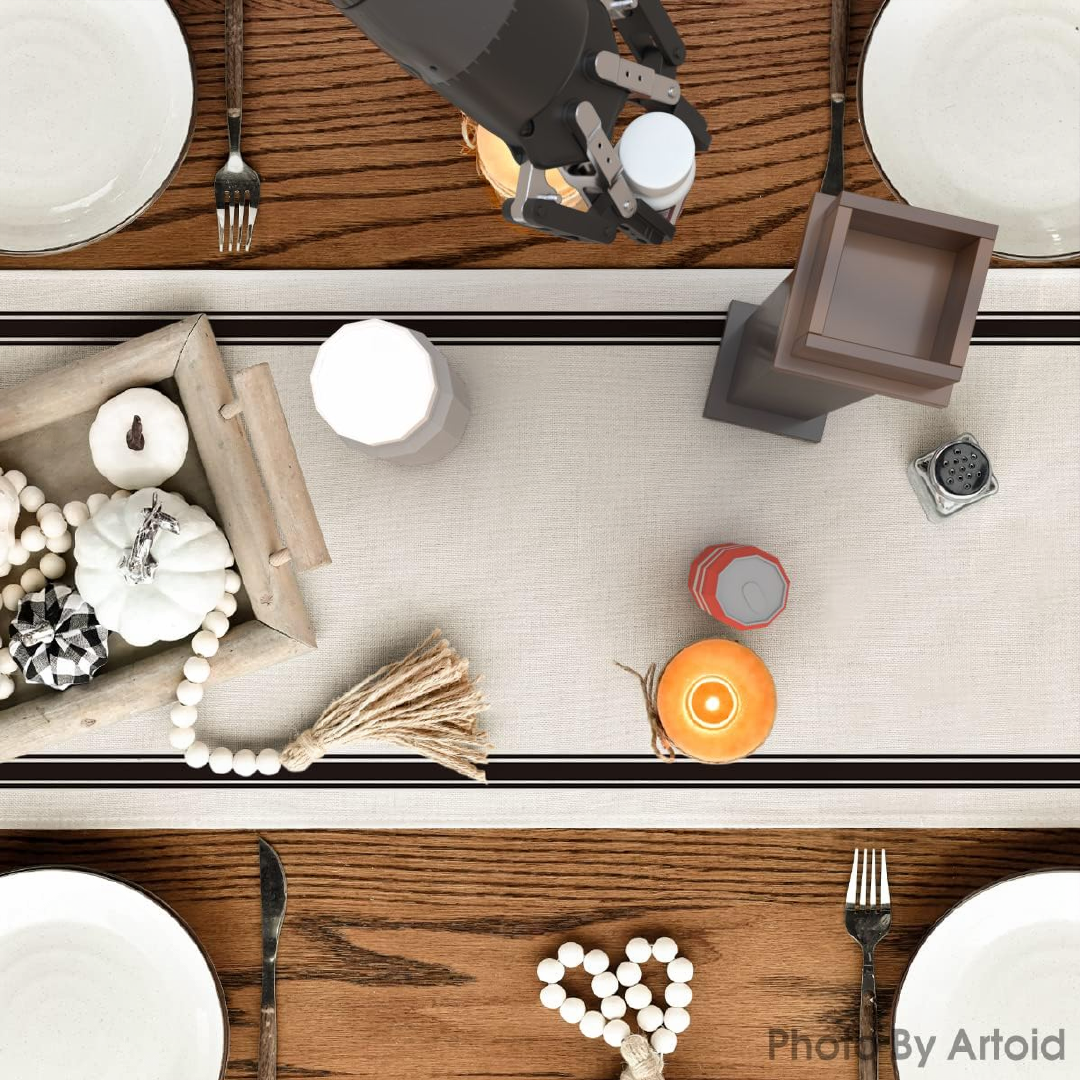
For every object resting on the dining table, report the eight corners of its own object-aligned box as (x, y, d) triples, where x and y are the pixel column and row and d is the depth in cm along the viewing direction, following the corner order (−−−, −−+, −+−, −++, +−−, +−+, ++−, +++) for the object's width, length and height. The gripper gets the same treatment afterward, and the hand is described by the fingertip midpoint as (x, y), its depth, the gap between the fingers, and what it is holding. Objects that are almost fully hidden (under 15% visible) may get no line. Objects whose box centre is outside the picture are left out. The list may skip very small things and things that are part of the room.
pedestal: (729, 302, 79) (810, 197, 53) (844, 328, 78) (983, 236, 52) (701, 417, 79) (769, 369, 53) (816, 444, 79) (940, 409, 53)
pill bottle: (644, 146, 57) (658, 84, 48) (698, 202, 57) (721, 149, 48) (588, 201, 57) (592, 149, 49) (642, 257, 57) (656, 214, 49)
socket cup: (810, 197, 53) (831, 171, 49) (983, 236, 52) (1018, 213, 48) (769, 369, 53) (785, 357, 49) (940, 409, 53) (971, 400, 49)
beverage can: (708, 628, 79) (734, 648, 67) (674, 562, 79) (693, 570, 67) (772, 596, 79) (809, 610, 67) (738, 529, 79) (768, 532, 67)
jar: (491, 437, 79) (469, 414, 61) (389, 487, 80) (338, 479, 62) (441, 334, 79) (404, 281, 61) (339, 385, 80) (273, 347, 62)
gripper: (451, 151, 39) (684, 316, 50) (576, -181, 38) (782, 65, 50) (360, 154, 44) (590, 302, 56) (469, -137, 43) (678, 76, 55)
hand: (680, 189), depth 53 cm, fingers closed on pill bottle, 4 cm apart
